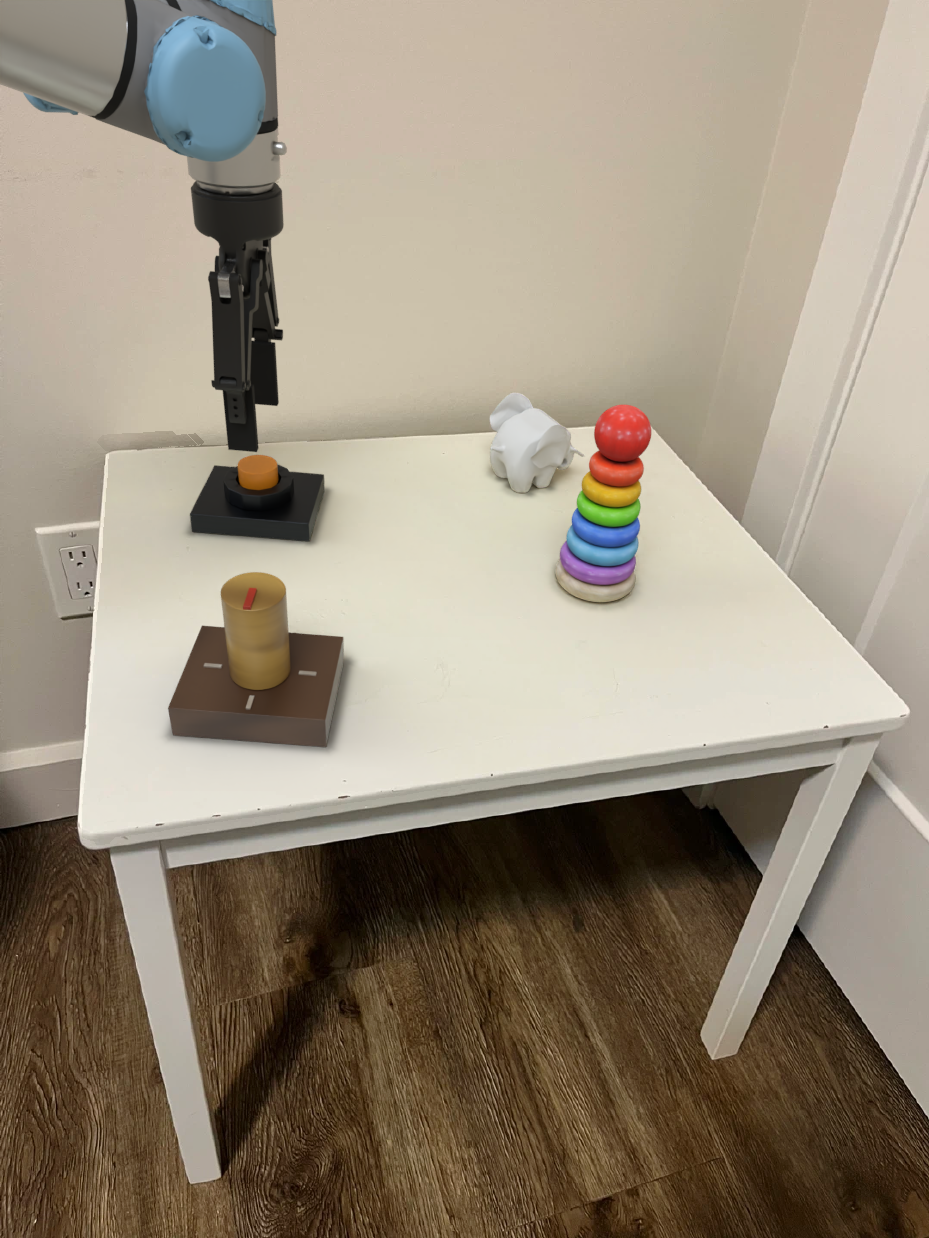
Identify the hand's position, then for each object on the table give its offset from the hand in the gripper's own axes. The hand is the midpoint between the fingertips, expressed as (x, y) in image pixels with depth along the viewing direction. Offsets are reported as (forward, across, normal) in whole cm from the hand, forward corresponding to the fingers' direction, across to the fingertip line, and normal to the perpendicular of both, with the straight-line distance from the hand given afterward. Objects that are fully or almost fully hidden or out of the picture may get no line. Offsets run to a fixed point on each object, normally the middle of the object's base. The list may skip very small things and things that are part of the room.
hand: (254, 425), depth 91 cm
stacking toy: (+10, -8, -35) cm, 37 cm away
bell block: (+10, 0, 0) cm, 10 cm away
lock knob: (+7, -28, -6) cm, 29 cm away
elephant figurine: (+10, +12, -29) cm, 33 cm away
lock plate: (+10, -28, -6) cm, 30 cm away
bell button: (+6, 0, 0) cm, 6 cm away
